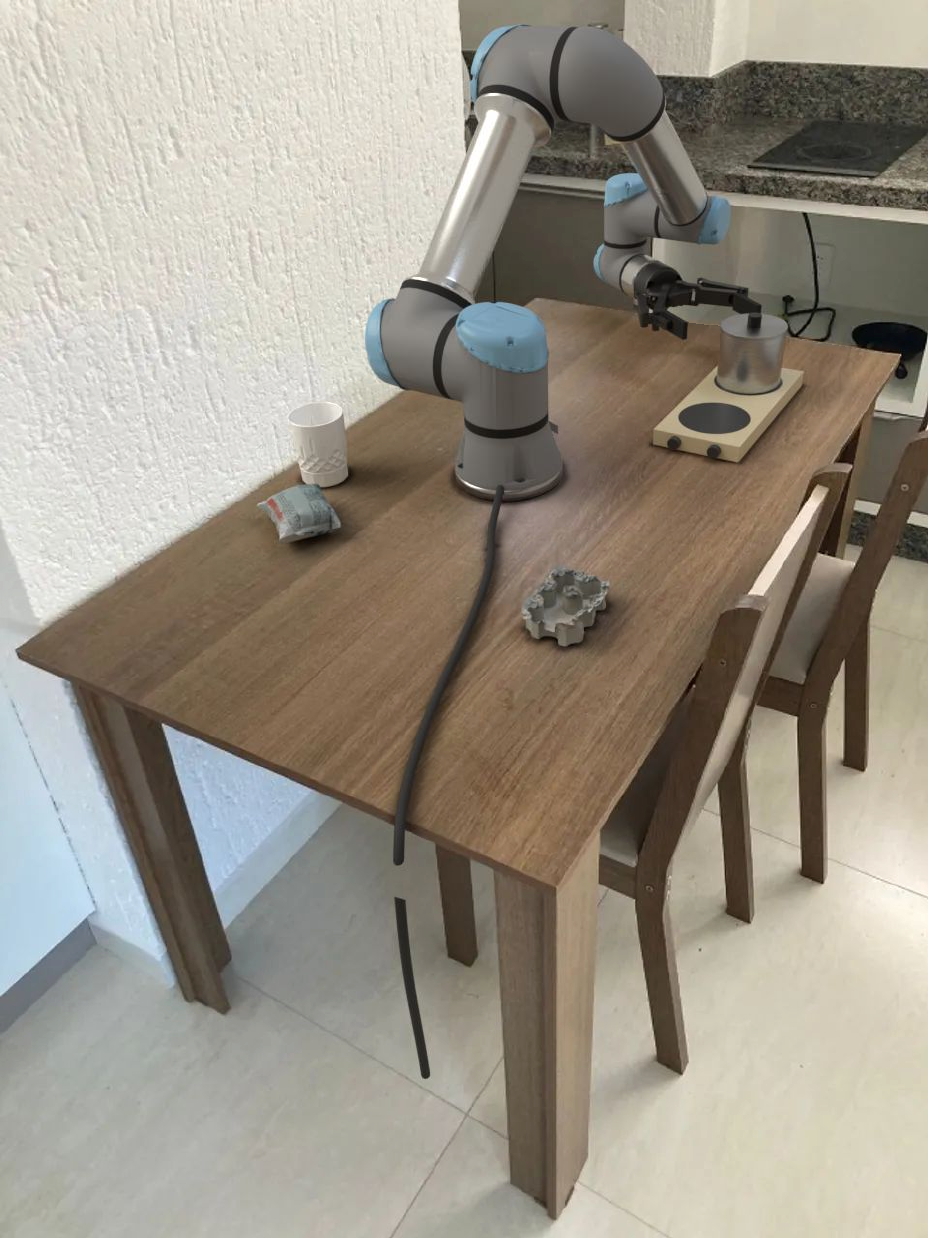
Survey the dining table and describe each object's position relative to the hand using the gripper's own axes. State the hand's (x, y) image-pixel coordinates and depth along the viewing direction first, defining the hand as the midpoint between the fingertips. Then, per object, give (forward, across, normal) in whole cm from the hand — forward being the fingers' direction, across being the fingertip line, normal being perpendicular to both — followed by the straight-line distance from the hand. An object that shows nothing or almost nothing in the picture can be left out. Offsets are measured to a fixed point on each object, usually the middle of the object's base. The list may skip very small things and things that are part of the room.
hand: (722, 322), depth 160 cm
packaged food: (+12, +74, -9) cm, 76 cm away
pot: (+8, 0, -7) cm, 11 cm away
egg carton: (+46, +52, -9) cm, 70 cm away
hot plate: (+12, +6, -9) cm, 16 cm away
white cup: (0, +67, -9) cm, 68 cm away
